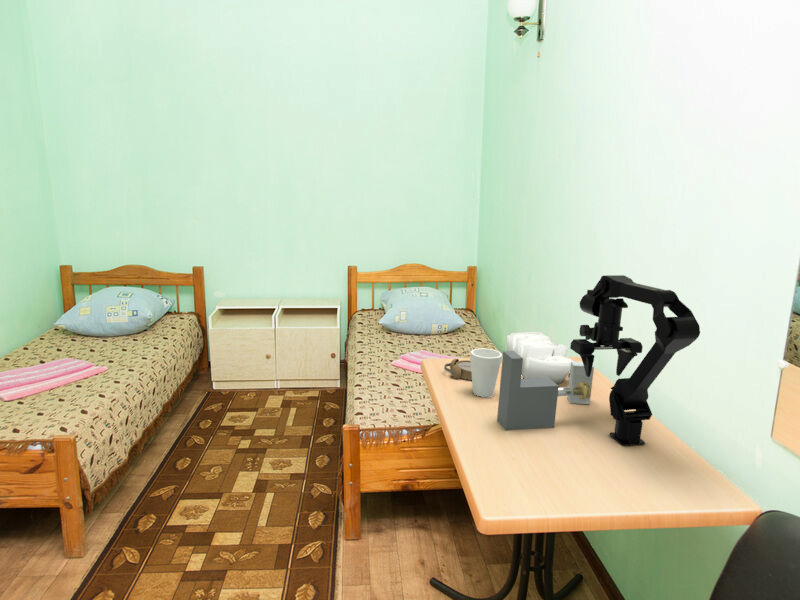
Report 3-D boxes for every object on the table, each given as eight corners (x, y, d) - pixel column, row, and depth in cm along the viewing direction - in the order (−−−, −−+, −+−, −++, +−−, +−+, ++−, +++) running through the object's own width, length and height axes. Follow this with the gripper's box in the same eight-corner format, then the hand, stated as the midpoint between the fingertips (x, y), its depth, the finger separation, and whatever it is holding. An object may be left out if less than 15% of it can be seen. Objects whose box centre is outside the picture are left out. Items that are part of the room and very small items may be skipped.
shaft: (589, 401, 154) (591, 385, 153) (546, 403, 151) (548, 387, 150) (580, 395, 158) (582, 379, 157) (538, 397, 156) (540, 381, 155)
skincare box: (586, 399, 173) (591, 362, 170) (589, 405, 169) (594, 367, 166) (566, 397, 174) (570, 360, 171) (569, 403, 170) (573, 365, 167)
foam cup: (496, 401, 169) (500, 360, 166) (465, 397, 171) (468, 356, 168) (499, 390, 178) (503, 350, 175) (470, 386, 180) (473, 346, 177)
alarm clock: (492, 374, 183) (447, 364, 183) (488, 388, 184) (443, 378, 184) (488, 362, 194) (445, 353, 194) (484, 376, 195) (442, 366, 195)
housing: (554, 427, 153) (562, 357, 148) (505, 430, 150) (512, 358, 145) (544, 418, 158) (551, 349, 154) (496, 420, 155) (503, 351, 151)
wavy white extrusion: (500, 352, 215) (503, 325, 212) (543, 353, 216) (546, 327, 214) (526, 387, 181) (529, 356, 178) (577, 388, 182) (580, 357, 180)
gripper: (622, 313, 163) (616, 365, 166) (563, 314, 159) (558, 367, 162) (647, 323, 152) (639, 378, 156) (583, 324, 148) (577, 381, 152)
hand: (603, 376), depth 157 cm, fingers open, 9 cm apart
